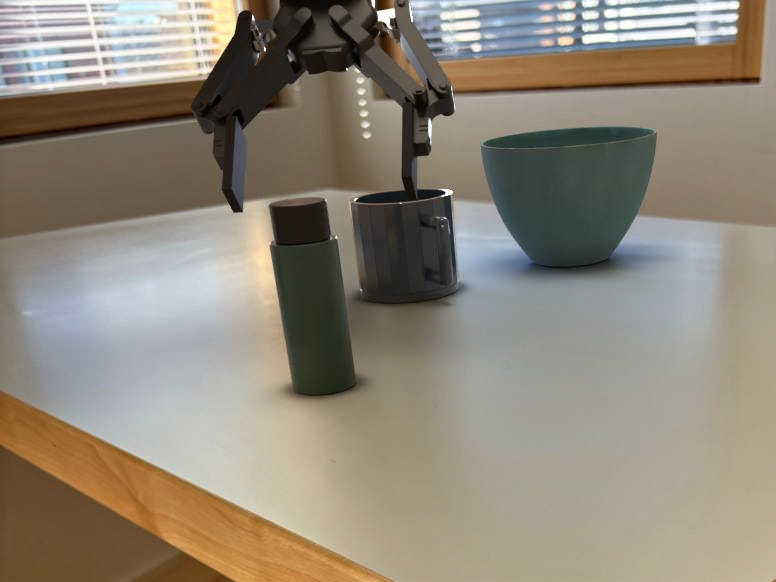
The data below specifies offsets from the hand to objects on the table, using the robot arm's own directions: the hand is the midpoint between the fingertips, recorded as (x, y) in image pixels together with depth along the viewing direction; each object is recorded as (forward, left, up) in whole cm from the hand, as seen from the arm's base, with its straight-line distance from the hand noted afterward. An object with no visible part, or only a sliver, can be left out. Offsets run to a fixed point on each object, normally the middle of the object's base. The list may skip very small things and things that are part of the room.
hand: (320, 195), depth 78 cm
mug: (-17, +16, -12) cm, 26 cm away
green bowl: (-19, +36, -13) cm, 42 cm away
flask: (+5, -4, -12) cm, 14 cm away
